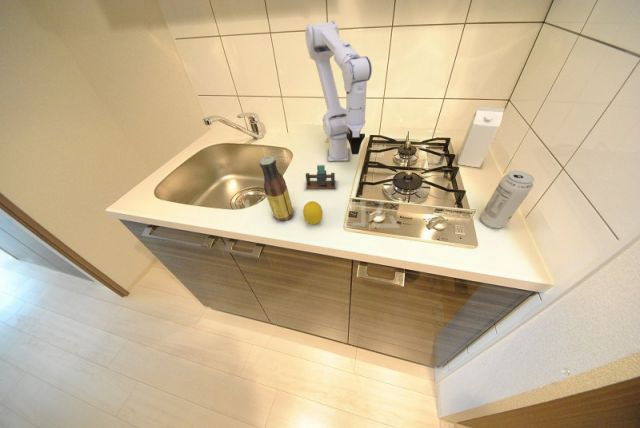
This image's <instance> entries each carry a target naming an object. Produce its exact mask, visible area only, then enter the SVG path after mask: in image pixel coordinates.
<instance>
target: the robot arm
mask: <svg viewBox="0 0 640 428" xmlns="http://www.w3.org/2000/svg"><path fill="white" fill-rule="evenodd" d="M339 31H340V30H339V26H338V24H337V22H336V21H335V20H331V21H328V22H319V23H314V24H310V23H308V24H307V25H306V27H305V31H304V33H305V34H304V35H305V37H304V38H305V43H306V48H307V52H308V55H309V58H310V59H311V60H312V61H314V62H315V66H316V70H317V74H318V78H319V83H320V86H321V89H322V93H323V97H324V102H325V106H326V109H327V111H326V112H325V113H324V115H323V116H322V126H323V127H322V128H323V132H324V135H325V136H326V138H328V149H329V151H328V157H327V160H328V162H347V161H349V148H348V143H349V147H350V152H351V155H354V156H355V155H359V154H360V150H361V145H362V143H363V141H364V139H365V137H366V133H361V131H362V129H363V127H364V126H365V125H366V106H367V105H366V104H367V84H368V81H370V79H371V77H372V72H373V68H372V67H373V66H372V61H371V59H370V58H369V56H368V55H363V56H360V55H359V53H358V52H357V51H356V50H355V48H354V47H353V46H352V45H351V43H350V42H349V41H343V40H342V38H341V37H340V34H339ZM332 57H333V60H334V62H335V63H336V65H337V66H338V68H339V69H340V70H341V74H342V75H341V76H342V79H343V85H344V86H343V87H344V91H345V99H346V100H345V107H343V106H341V101H340V98H339V93H338V90H337V86H336V81H335V77H334V72H333V69H332V65H331V64H332V63H331V58H332Z"/></svg>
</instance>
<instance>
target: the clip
mask: <svg viewBox="0 0 640 428" xmlns="http://www.w3.org/2000/svg"><path fill="white" fill-rule="evenodd" d="M316 168H317V172H316V175H317V178H316V181H317V185H326V181H328V178H326V174H327V170H326V168H325V164H317V165H316Z"/></svg>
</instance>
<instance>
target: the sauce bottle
mask: <svg viewBox="0 0 640 428" xmlns="http://www.w3.org/2000/svg"><path fill="white" fill-rule="evenodd" d="M258 163H259V167H260V168H261V170H262V173H263V179H264V181H263V190H264V191H263V192H264V194H265V196H266V198H267V201H268V204H269V208H270V210H271V213H272V215H273V217H274V219H275V220H277V221H279V222H286V221H287V220H290V219H292V217H293V214H294V209H293V205H292V200H291V197H290V194H289V189H288V186H287V184H286V180H285V178H284V176H283V175H282V173H280V172H279V170H278V167H277V161H276V158H275V156H272V155H266V156H263V157H261V158H260V159H259V161H258Z"/></svg>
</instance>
